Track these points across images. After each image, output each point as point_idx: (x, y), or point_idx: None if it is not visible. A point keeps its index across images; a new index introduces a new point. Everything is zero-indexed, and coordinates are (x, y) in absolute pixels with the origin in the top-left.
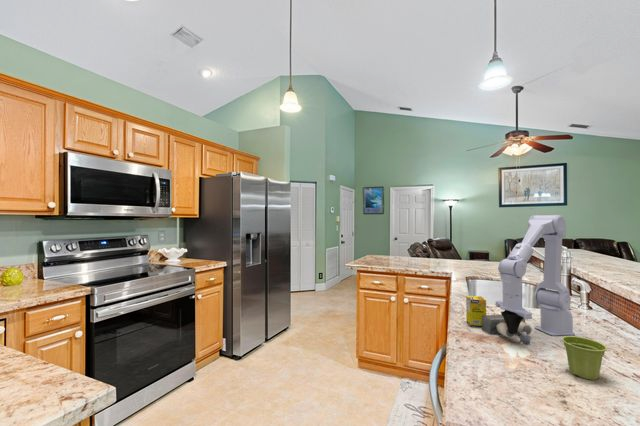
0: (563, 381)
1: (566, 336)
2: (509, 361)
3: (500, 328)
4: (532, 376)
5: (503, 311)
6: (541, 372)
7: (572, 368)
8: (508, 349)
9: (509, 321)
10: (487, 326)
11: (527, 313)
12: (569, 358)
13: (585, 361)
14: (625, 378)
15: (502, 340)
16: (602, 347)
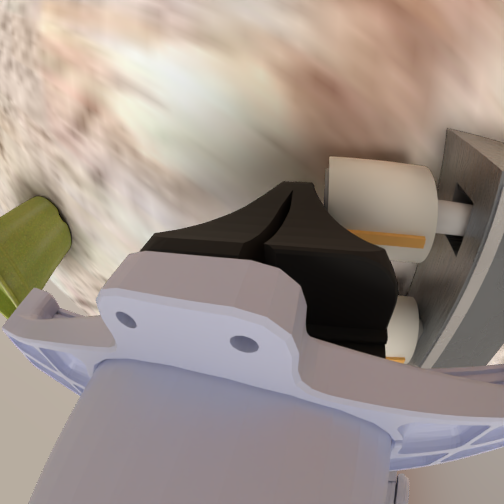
0: (7, 142)
1: (4, 290)
2: (74, 24)
3: (389, 169)
4: (10, 69)
5: (386, 317)
6: (27, 108)
7: (25, 203)
8: (193, 73)
9: (239, 220)
10: (496, 150)
11: (10, 339)
12: (8, 217)
13: None
14: (69, 291)
15: (341, 130)
16: (8, 310)
